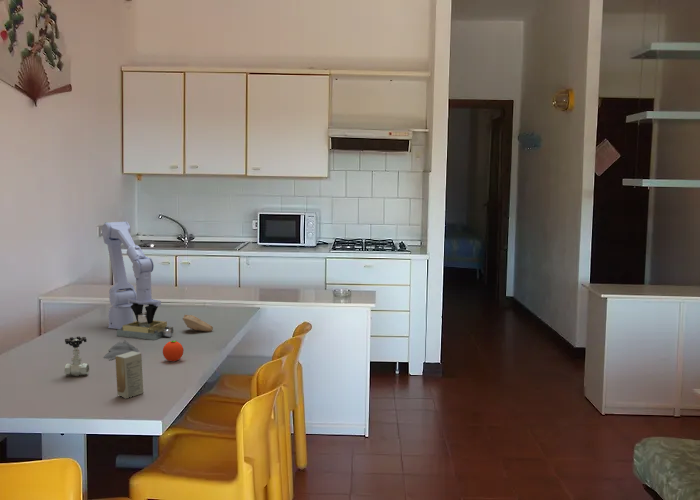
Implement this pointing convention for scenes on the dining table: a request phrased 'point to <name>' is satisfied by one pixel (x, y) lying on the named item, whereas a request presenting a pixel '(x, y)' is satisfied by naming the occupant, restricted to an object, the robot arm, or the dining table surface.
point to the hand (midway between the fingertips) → (144, 322)
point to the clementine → (173, 351)
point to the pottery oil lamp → (196, 323)
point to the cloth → (120, 350)
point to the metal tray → (146, 330)
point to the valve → (76, 359)
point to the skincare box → (129, 374)
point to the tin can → (143, 320)
